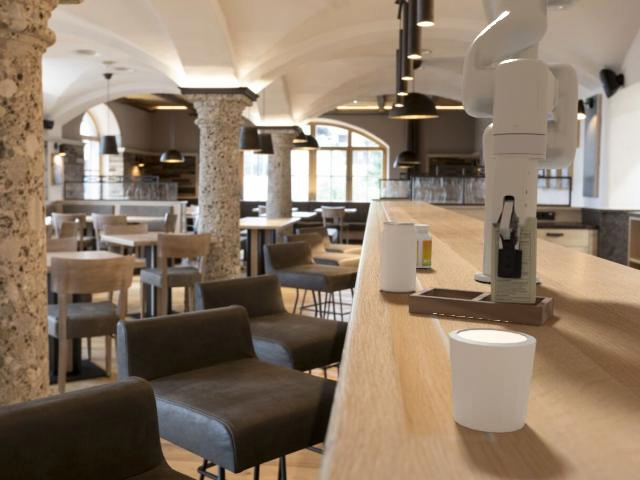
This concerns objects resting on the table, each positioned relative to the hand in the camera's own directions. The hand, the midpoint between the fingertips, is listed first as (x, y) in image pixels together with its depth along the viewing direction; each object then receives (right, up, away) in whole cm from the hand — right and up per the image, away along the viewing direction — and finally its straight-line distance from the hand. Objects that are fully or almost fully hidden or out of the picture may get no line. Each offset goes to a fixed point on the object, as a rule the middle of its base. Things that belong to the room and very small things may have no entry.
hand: (513, 274), depth 102 cm
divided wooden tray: (-4, -6, +2) cm, 8 cm away
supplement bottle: (-6, -1, +58) cm, 58 cm away
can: (-14, -4, +23) cm, 28 cm away
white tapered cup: (-14, -10, -45) cm, 48 cm away
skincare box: (0, -4, 0) cm, 4 cm away
